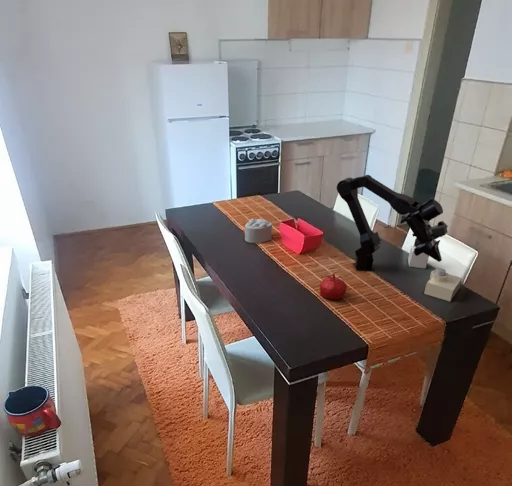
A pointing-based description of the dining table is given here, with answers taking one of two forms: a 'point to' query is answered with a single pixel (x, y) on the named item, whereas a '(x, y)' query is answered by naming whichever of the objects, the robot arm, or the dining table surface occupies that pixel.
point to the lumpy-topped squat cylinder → (258, 231)
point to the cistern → (442, 286)
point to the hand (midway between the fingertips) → (440, 261)
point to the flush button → (440, 272)
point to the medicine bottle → (417, 257)
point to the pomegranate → (332, 287)
